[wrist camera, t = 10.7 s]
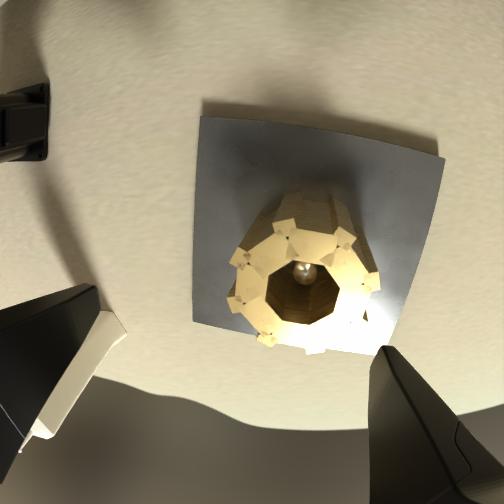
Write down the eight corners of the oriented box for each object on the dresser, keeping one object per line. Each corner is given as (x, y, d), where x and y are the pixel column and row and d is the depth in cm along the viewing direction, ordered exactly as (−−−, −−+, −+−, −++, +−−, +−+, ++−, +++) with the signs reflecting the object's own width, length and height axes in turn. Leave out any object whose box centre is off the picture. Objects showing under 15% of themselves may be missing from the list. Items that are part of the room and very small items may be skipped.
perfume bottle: (100, 295, 25) (-15, 413, 11) (135, 331, 25) (37, 462, 12) (82, 317, 26) (-16, 421, 13) (113, 350, 27) (27, 463, 14)
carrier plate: (197, 313, 23) (177, 347, 19) (206, 116, 17) (178, 116, 13) (380, 346, 21) (387, 385, 17) (439, 156, 15) (468, 166, 12)
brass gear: (244, 289, 20) (223, 337, 16) (255, 184, 17) (233, 208, 13) (348, 308, 19) (353, 361, 15) (375, 205, 16) (396, 237, 12)
